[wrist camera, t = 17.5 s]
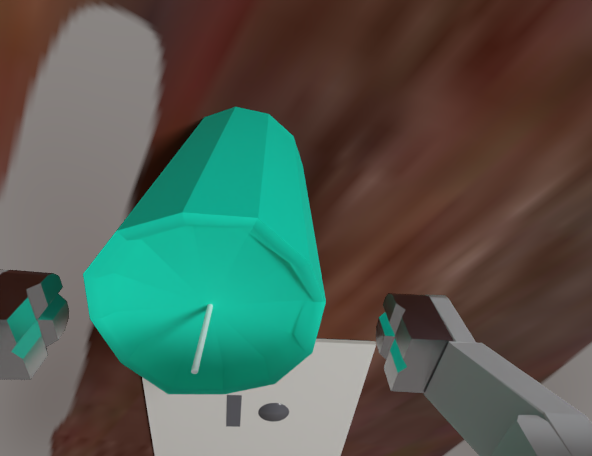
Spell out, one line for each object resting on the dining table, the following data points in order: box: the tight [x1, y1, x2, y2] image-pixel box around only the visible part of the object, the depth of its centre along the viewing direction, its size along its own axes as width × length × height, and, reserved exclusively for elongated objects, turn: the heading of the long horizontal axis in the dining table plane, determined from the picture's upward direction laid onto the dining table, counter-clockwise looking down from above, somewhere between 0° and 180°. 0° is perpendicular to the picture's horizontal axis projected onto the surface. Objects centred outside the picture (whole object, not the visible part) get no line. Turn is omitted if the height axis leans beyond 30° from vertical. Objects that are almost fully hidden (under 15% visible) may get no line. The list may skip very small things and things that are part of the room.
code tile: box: [142, 339, 376, 456], centre depth 28 cm, size 16×16×1 cm
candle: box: [83, 107, 326, 394], centre depth 13 cm, size 6×6×12 cm
